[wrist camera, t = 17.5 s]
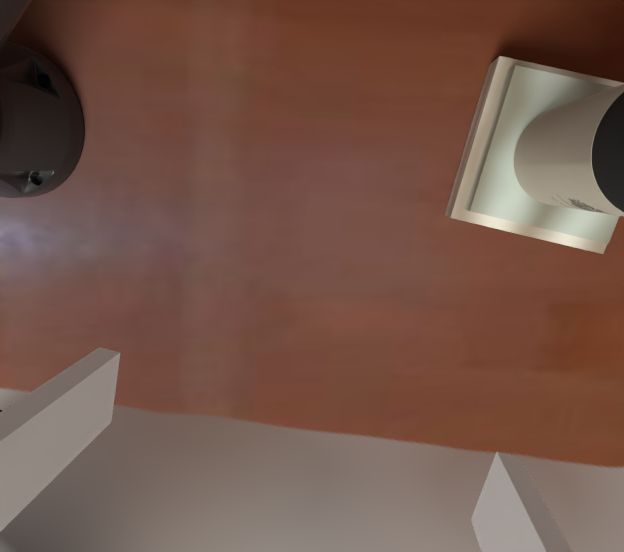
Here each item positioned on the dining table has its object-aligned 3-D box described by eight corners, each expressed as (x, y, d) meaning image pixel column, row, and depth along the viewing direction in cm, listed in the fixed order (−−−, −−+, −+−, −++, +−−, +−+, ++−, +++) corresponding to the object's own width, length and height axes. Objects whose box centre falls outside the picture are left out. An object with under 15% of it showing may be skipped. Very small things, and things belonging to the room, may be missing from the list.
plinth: (444, 214, 44) (455, 219, 39) (489, 64, 40) (507, 49, 35) (586, 248, 43) (615, 258, 38) (644, 98, 40) (684, 87, 35)
